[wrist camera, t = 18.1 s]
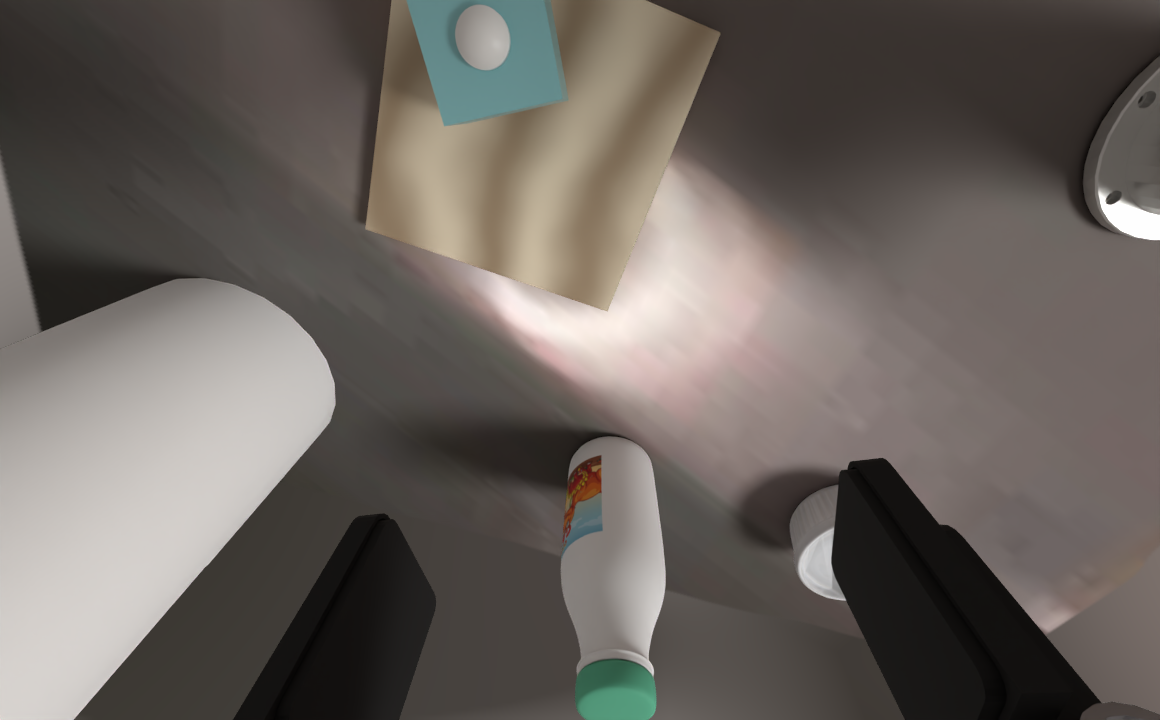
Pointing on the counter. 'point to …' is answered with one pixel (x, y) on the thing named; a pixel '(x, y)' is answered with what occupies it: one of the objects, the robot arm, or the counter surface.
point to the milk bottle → (613, 576)
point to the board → (541, 151)
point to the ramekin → (816, 542)
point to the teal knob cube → (489, 56)
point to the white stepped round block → (136, 471)
